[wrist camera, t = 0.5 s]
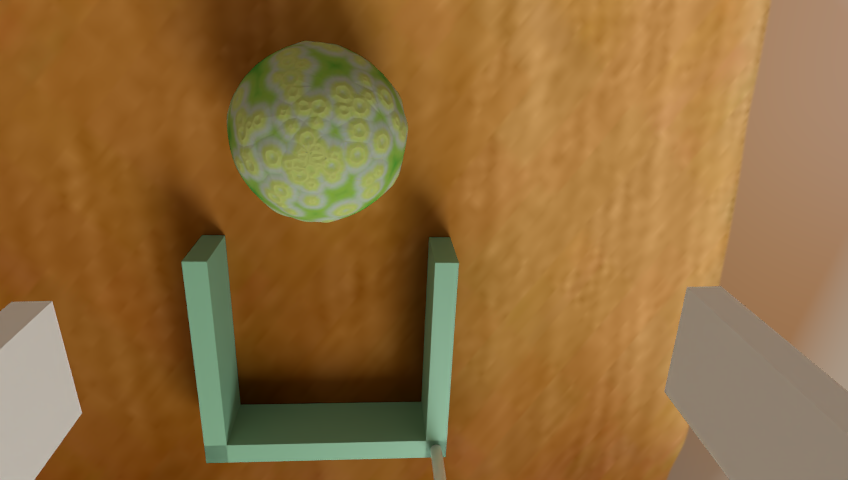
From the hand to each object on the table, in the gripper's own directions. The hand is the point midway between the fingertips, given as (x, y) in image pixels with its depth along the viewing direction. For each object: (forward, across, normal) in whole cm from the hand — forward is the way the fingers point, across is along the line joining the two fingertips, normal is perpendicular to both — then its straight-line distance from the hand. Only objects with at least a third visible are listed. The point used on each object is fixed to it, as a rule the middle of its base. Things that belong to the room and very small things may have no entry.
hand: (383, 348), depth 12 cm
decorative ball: (+27, -3, 0) cm, 27 cm away
